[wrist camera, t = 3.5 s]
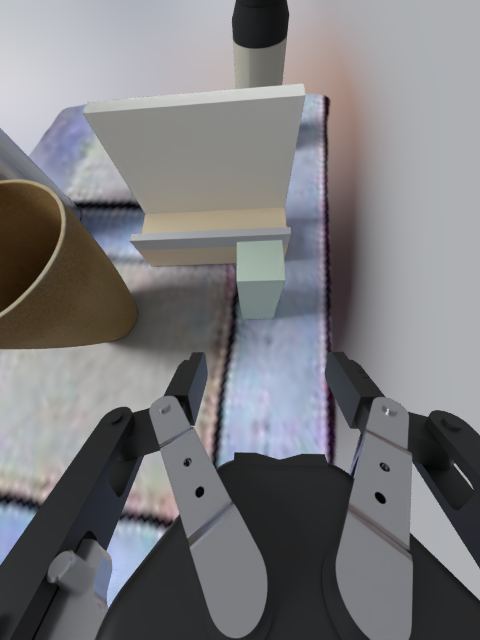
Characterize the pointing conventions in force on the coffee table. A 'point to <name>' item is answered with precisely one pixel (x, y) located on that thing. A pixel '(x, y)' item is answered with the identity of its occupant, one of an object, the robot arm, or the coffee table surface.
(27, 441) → the coffee table surface
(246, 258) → the pale green block
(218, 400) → the coffee table surface
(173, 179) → the white display stand
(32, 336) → the plant pot
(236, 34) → the travel mug
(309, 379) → the coffee table surface
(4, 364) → the coffee table surface
